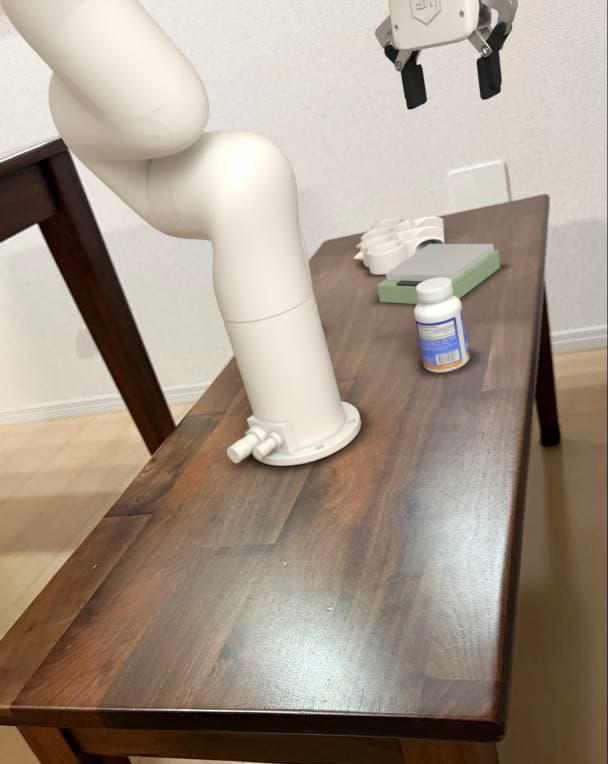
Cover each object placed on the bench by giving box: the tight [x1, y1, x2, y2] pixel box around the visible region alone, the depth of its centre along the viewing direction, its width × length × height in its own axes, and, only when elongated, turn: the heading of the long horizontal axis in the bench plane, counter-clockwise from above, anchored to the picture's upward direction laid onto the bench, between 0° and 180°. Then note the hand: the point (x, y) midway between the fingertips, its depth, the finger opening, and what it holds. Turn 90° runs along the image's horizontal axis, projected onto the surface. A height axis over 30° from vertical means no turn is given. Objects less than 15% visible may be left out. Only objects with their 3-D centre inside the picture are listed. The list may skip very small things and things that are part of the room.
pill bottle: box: [413, 277, 470, 374], centre depth 96 cm, size 5×5×10 cm
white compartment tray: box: [352, 215, 446, 276], centre depth 135 cm, size 3×18×15 cm
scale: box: [376, 243, 501, 305], centre depth 119 cm, size 13×12×4 cm
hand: (453, 101), depth 94 cm, fingers open, 9 cm apart
